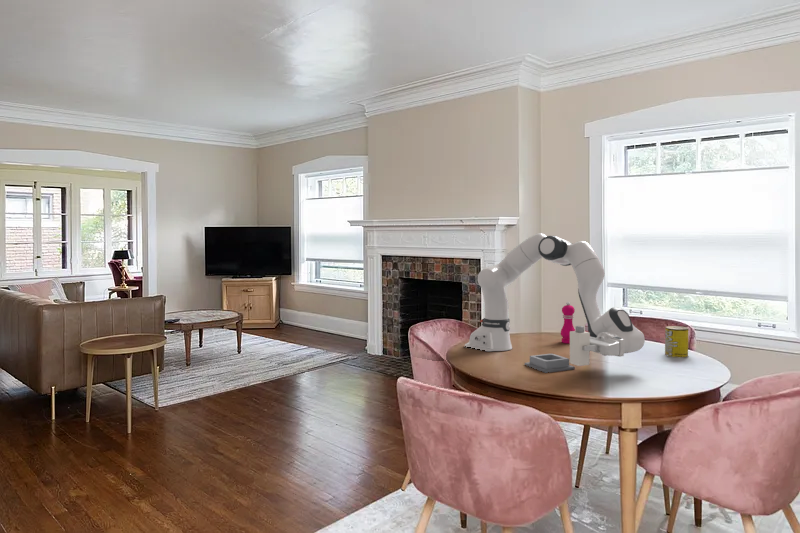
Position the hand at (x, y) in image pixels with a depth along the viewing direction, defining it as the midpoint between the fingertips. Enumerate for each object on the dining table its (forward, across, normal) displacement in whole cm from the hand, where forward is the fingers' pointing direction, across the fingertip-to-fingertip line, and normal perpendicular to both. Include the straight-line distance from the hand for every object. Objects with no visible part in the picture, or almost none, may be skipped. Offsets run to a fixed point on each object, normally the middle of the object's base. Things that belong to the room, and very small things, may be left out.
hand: (577, 346), depth 207 cm
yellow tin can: (-64, -13, +12) cm, 66 cm away
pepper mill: (-40, -56, +12) cm, 70 cm away
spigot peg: (-1, 0, +6) cm, 7 cm away
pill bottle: (-53, -54, +12) cm, 77 cm away
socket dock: (-1, -18, +12) cm, 22 cm away
